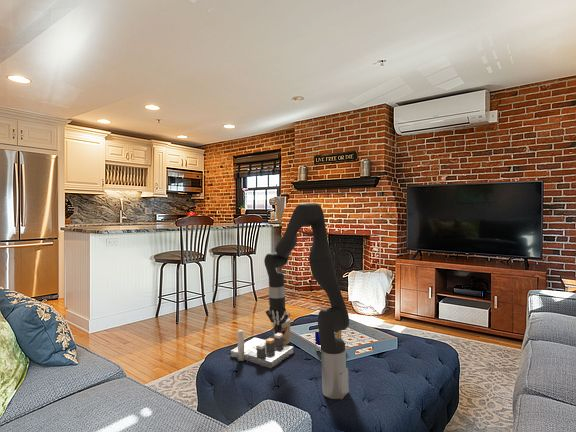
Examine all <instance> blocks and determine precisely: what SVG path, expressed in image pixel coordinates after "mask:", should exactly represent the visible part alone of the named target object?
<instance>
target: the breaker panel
mask: <svg viewBox="0 0 576 432" xmlns="http://www.w3.org/2000/svg"><path fill="white" fill-rule="evenodd" d="M260 343H262V344H266V339H262V338H258V337H253V338H251V339H250V340H248V341H244V351H245V354H244V358H245V360H247V361H246V362H248V361H251V362H254V363H253V364H255V363H257V364H256V365H258V364H260V365H259V366H262V367H264V368H269V369H273V368H274V367H276V366H277V365H278V364H280V363H281V362H282V360H283V361H284V360H285V359H287V358H288V357H290V356H291V355H294V346H291V345H289V344H286V345H285V344H283V345H281V346H280V347H279V346H275V350H274V351H272V352H269V351H266V356H264V357H263V358H260V357H257V348H256V345H258V344H260ZM289 355H290V356H289ZM230 357H231V358H234V357H236V358H235V359H238V346H237V347H234V348H233V349H231V350H230ZM286 357H287V358H286ZM251 362H250V363H251ZM272 367H273V368H272Z"/></svg>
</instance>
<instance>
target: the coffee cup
mask: <svg viewBox="0 0 576 432" xmlns="http://www.w3.org/2000/svg"><path fill="white" fill-rule="evenodd" d="M283 318H284V316H283ZM291 322H292V321H291V319H290V317H289V318H288V319H287V320H286V322H285V323H283V324H282V330H281V332H279V333H281V334H283V344H285V345H289V344H290V342H291ZM272 327H273V336H274V335H275V334H277V333H278V332H276V331H275V324H274V323H273V322H272Z"/></svg>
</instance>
